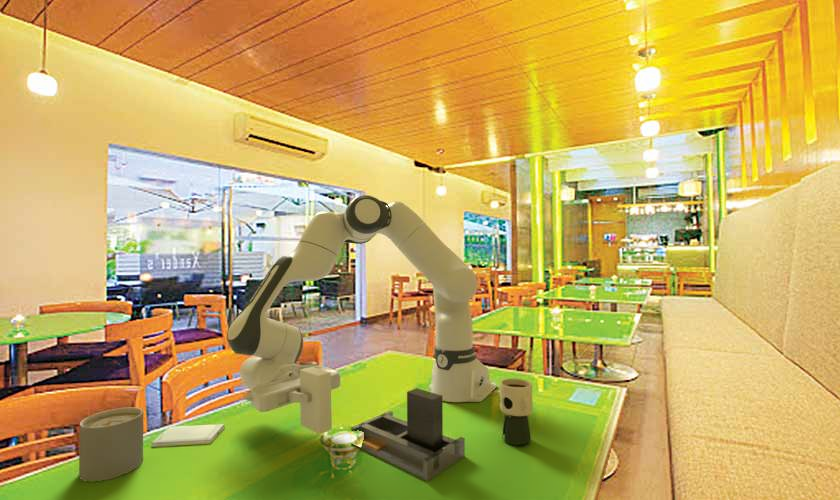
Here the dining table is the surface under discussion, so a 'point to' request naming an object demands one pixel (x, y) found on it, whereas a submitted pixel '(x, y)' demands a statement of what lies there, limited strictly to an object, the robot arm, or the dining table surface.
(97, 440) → the coffee mug
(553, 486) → the dining table surface
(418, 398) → the rack
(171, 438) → the hard drive
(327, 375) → the beige rectangular block
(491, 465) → the dining table surface
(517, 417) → the character mug
